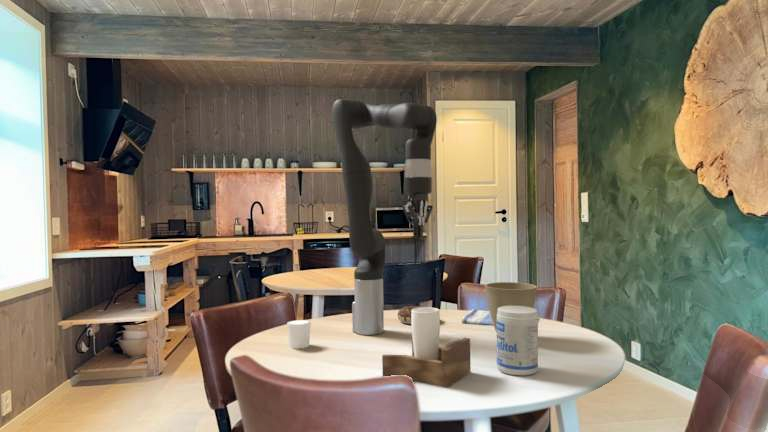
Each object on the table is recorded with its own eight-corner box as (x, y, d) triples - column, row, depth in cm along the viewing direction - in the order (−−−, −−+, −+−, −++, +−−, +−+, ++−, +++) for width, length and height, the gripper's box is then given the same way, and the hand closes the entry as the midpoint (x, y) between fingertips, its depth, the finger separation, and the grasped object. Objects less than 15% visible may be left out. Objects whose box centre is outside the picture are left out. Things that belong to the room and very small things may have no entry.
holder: (380, 377, 114) (380, 342, 114) (414, 359, 127) (413, 329, 127) (444, 390, 105) (443, 352, 105) (473, 370, 118) (473, 336, 118)
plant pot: (506, 347, 137) (505, 290, 137) (476, 336, 151) (475, 284, 151) (548, 341, 143) (547, 286, 143) (515, 330, 157) (514, 280, 157)
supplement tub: (489, 371, 117) (488, 309, 117) (507, 361, 124) (506, 303, 124) (528, 379, 111) (527, 314, 111) (545, 369, 118) (544, 307, 118)
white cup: (315, 343, 145) (315, 320, 145) (304, 350, 138) (303, 325, 138) (294, 342, 147) (294, 318, 147) (282, 348, 141) (282, 323, 141)
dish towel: (471, 315, 185) (471, 307, 185) (536, 319, 175) (536, 311, 175) (459, 325, 169) (459, 316, 169) (530, 330, 159) (530, 321, 159)
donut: (390, 324, 170) (390, 309, 170) (409, 316, 182) (408, 303, 182) (428, 328, 163) (427, 313, 163) (444, 320, 175) (444, 306, 175)
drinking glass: (438, 378, 112) (437, 312, 112) (409, 376, 114) (408, 312, 114) (442, 369, 119) (441, 307, 119) (414, 367, 121) (413, 306, 121)
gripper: (418, 178, 144) (418, 237, 144) (393, 175, 133) (393, 239, 133) (441, 177, 140) (441, 238, 140) (417, 174, 129) (417, 240, 129)
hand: (418, 238), depth 137 cm, fingers closed
